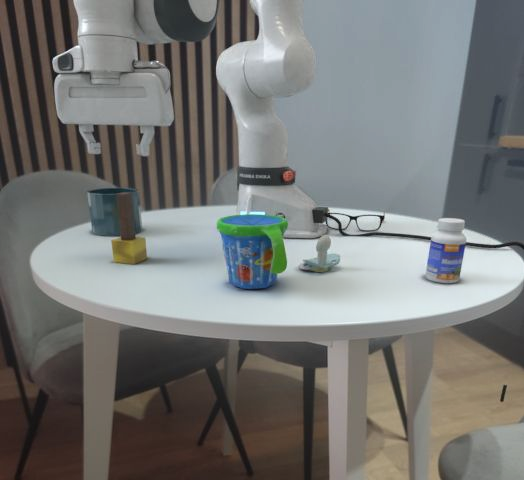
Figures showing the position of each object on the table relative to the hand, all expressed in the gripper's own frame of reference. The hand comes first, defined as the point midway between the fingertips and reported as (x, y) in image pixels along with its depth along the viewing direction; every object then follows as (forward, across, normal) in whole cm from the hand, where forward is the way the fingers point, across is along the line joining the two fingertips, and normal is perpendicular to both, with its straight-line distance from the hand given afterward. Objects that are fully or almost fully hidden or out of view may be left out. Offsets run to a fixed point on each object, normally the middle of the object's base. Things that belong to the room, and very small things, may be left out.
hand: (118, 155), depth 84 cm
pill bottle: (+18, -55, -7) cm, 59 cm away
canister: (+18, +17, -22) cm, 33 cm away
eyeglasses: (+18, -34, -48) cm, 62 cm away
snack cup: (+18, -26, +6) cm, 32 cm away
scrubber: (+18, 0, 0) cm, 18 cm away
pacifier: (+18, -34, -6) cm, 39 cm away
